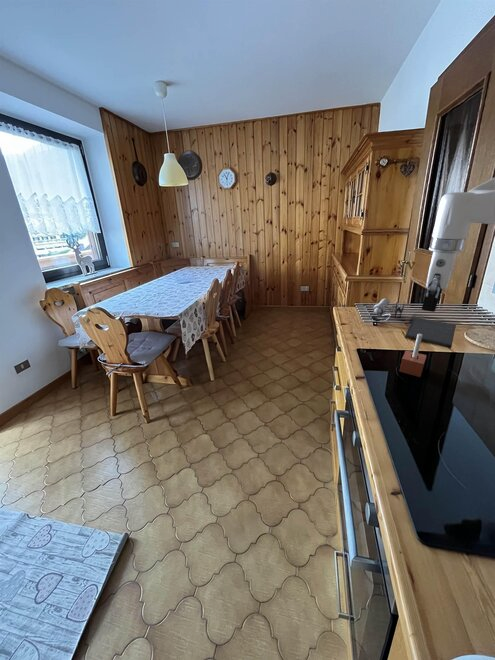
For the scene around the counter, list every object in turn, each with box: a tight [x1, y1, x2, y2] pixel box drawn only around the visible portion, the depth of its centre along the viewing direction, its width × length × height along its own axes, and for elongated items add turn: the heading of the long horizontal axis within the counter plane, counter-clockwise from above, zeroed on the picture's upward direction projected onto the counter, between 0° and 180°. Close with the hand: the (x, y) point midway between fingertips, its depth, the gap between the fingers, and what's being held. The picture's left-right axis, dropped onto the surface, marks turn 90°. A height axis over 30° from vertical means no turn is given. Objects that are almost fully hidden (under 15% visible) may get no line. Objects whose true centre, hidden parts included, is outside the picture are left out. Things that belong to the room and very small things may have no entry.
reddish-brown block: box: [398, 349, 427, 378], centre depth 91 cm, size 6×6×5 cm
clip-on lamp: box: [369, 298, 406, 323], centre depth 127 cm, size 12×6×18 cm
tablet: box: [404, 316, 457, 349], centre depth 113 cm, size 16×20×1 cm
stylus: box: [412, 334, 422, 359], centre depth 89 cm, size 1×1×13 cm
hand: (430, 304), depth 82 cm, fingers open, 9 cm apart
